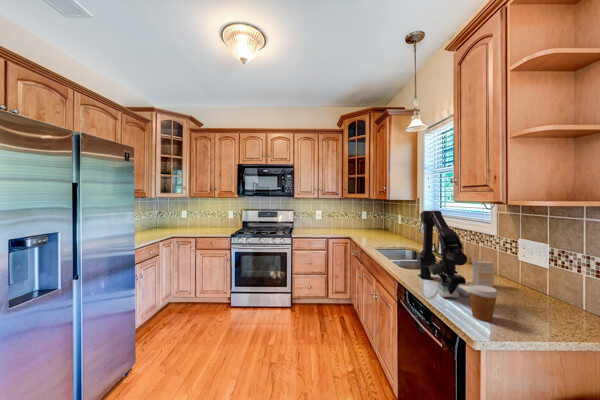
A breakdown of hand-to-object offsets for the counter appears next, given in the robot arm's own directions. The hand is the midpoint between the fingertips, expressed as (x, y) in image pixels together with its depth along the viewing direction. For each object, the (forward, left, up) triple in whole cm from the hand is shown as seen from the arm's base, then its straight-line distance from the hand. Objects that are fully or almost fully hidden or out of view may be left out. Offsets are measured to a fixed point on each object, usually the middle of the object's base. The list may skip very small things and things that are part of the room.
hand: (448, 291), depth 114 cm
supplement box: (-18, +26, -3) cm, 32 cm away
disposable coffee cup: (+19, +4, -3) cm, 20 cm away
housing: (0, 0, -2) cm, 2 cm away
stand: (-7, +14, -2) cm, 16 cm away
